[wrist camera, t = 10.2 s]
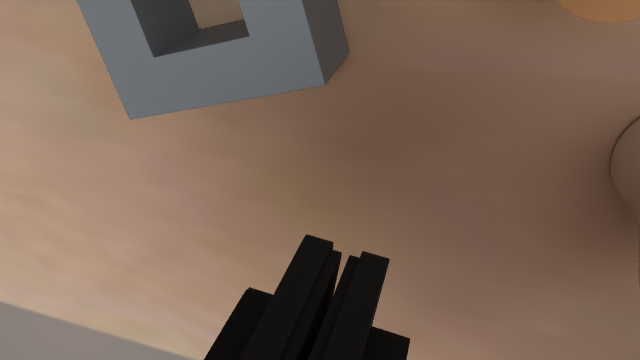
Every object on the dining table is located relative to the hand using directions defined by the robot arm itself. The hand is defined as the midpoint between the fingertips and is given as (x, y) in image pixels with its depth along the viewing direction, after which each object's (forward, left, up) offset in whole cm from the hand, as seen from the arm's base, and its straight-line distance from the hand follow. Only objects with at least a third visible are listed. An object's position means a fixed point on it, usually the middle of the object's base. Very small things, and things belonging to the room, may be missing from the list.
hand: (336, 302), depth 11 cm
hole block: (+5, +9, -18) cm, 21 cm away
